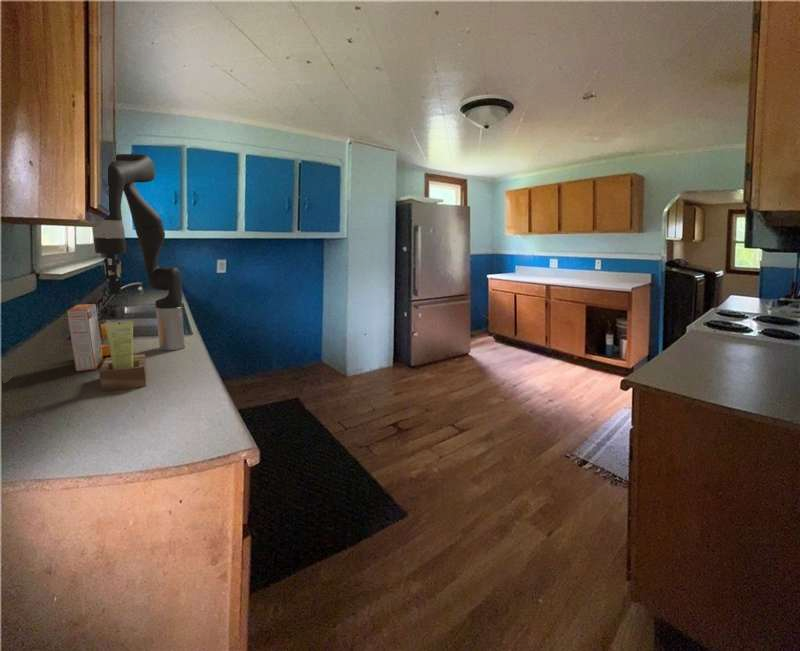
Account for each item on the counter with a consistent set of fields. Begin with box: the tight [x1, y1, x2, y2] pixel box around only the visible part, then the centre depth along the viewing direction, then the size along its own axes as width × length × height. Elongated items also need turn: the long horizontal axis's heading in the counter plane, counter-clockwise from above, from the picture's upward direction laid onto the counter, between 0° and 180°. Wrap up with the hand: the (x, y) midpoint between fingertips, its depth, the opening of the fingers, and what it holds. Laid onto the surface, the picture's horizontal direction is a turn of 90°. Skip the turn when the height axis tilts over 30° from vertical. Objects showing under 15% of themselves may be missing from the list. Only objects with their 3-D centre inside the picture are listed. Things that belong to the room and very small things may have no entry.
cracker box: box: [66, 303, 104, 372], centre depth 141 cm, size 14×6×21 cm, turn 27°
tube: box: [103, 320, 134, 369], centre depth 124 cm, size 6×5×20 cm
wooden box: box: [99, 353, 148, 393], centre depth 128 cm, size 16×11×6 cm
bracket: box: [100, 323, 111, 357], centre depth 157 cm, size 11×7×12 cm, turn 37°
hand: (115, 292), depth 121 cm, fingers open, 8 cm apart
